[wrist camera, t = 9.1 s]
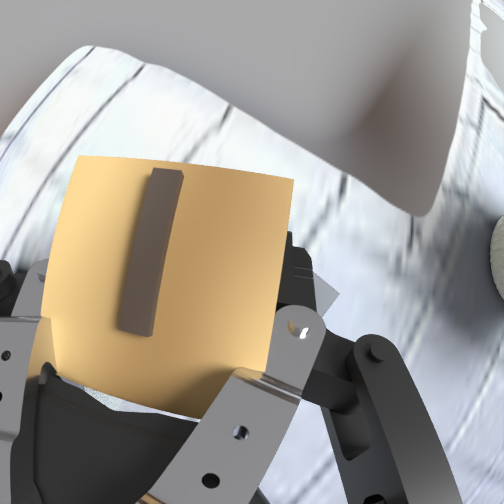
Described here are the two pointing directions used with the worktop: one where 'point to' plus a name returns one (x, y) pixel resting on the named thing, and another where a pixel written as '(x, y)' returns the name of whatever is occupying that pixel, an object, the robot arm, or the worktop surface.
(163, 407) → the ochre knob
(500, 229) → the canister
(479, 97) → the worktop surface
